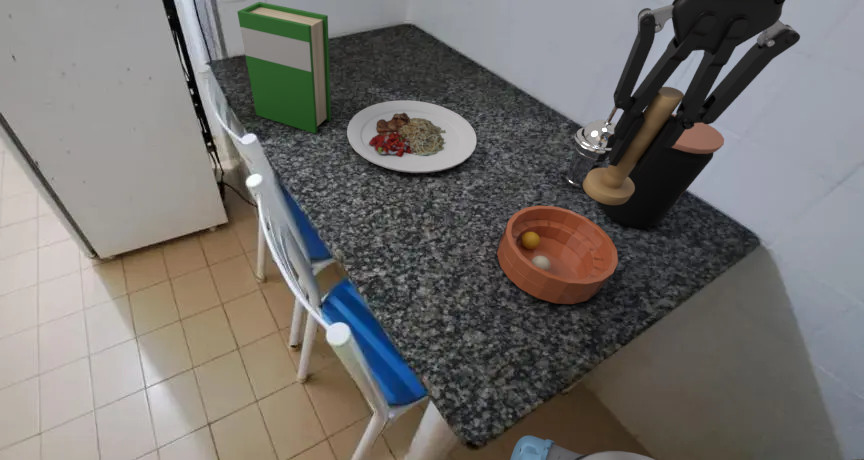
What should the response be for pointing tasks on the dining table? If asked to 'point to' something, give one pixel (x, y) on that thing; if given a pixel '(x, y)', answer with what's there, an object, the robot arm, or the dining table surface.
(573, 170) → the cup with straw
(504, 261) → the bowl
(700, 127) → the coffee jar
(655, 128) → the masher
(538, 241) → the bead
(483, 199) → the dining table surface
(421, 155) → the plated food
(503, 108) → the dining table surface
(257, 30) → the hardback book
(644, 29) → the robot arm
